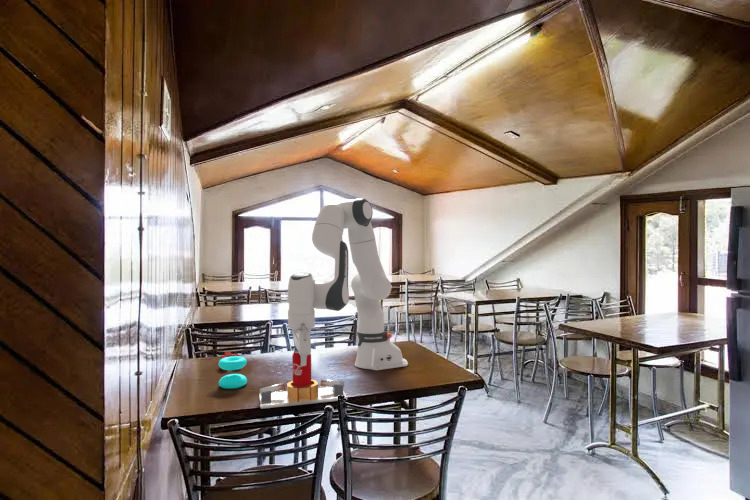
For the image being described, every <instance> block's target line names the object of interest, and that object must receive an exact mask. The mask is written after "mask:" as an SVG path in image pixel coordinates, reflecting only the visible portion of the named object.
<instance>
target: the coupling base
mask: <svg viewBox="0 0 750 500" xmlns="http://www.w3.org/2000/svg"><path fill="white" fill-rule="evenodd" d="M344 388H345V380H337V379H336V380H334V379H324V378H321V379H320V380H319V382H318V381H317V380H315V379H311V385H309V386H308V387H295V386H294V385H293V380H291V381H288V382H287V383H286V388H285V383H284V382H280V383H277V384H273V385H270V386H266V387H265V386H264V387H262V388H259V395H258V396H259V406H260V407H259V408H260V409H261V410H263V409H271V408H281V407H292V406H302V405H303V406H304V405H311V404H319V403H329V402H339V401H338V395H344V396H345V399H346V400H345V401H348V395H347V394H346V393H345V391H344Z"/></svg>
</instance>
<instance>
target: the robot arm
mask: <svg viewBox="0 0 750 500" xmlns="http://www.w3.org/2000/svg"><path fill="white" fill-rule="evenodd" d="M372 207H373V206H372V204H371V202H369V201H368V200H367V199H366V198H358V197H357V198H355V199H354V198H352V199H345V200H342V201H338V202H334V203H327V204H324V205H323V206H322V207H321V209H320V210H319V212H318V215H317V217H316V219H315V223H314V227H313V230H312V234H311V242H312V245H314V247H315V248H316V250H318V251H319V252H321V253H322V254H324V255H325V256H328V257H331V258H332V259H334V278H333V279H332V280H330V281H325V280H324V281H322V280H320V281H319V280H315V279H314V277H313V275H312V274H311V273H309V272H298V273H294V274H292V275H290V276H289V281H288V285H287V286H288V287H287V303H288V311H287V316H288V317H287V324H288V325H287V327H288V329H291V332H292V339H293V343H294V346H295V347H296V349H297V350H298V352H299V354H300V358H301V360H300V362H301V363H300V364H301V366H306V360H307V355H310V354H311V353H312V343H311V332H312V328H314V327H315V326H316V324H315V323H316V317H315V316H316V315H315V310H317V309H318V310H329V311H336V312H339V311H341V310H343V309H344V308H345V307H346V306H347V305H348V303H349V301H350V300H349V299H350V298H349V297H350V293H349V290H350V289H349V249H350V253H351V259H352V263H353V265H354V266H355V268H356V270H357V273H358V274H356V275H354V276H353V278H352V280H351V282H350V286H351V289H352V292H353V295H354V296H353V297H354V302H355V306H356V312H357V332H356V344H357V350H356V359H355V363H354V366H355V367H357V368H360V369H364V370H373V371H381V370H388V369H389V370H390V369H394V368H402V367H407V366H408V365H409V363H408V361H407V359H405V358H403V354H402V353H403V352H402V350H401V349H400V347H399V346H397V345H396V344H394V342H392V341H391V340H389V339H392V338H393V334H392V333H390V332H387V331H385V314H384V310H383V309H382V305H381V302H380V301H382V300H385V299H387V298H388V297H389V296H390V294H391V291H392V284H391V281H390V280H389V278H388V276H387V275H386V272H385V270H384V267H383V265H382V263H381V259H380V257H379V252H378V247H377V241H376V237H375V231H374V229H373V225H372V222H371V221H372V217H373V214H374V213H373V208H372ZM345 229H347V235H348V237H347V238H348V243H349V249H348V245H347V243H346V242H344V241H343V234H344V230H345ZM311 355H312V354H311Z"/></svg>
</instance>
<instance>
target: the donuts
mask: <svg viewBox="0 0 750 500" xmlns="http://www.w3.org/2000/svg"><path fill="white" fill-rule="evenodd" d="M247 362H248V361H247V359H246V357H243V356H240V355H239V356H231V357H225V358H223V359H221V358H220V359H219V361H218V364H217V365H218V367H219V368H220V369H221V370H222V369H224V370H225V371H236V370H237V371H238V370H240V369H241V370H242V369H243V368H244V367H245V366H246V365H247ZM247 382H248V379H247V376H245V375H243V374H242V373H230V374H226V375H224V376H222V377H221V378H220V379H219V381H218V385H219V387H220V388H222V389H229V390H232V389H239V388H242V387H244V386H246V384H247Z"/></svg>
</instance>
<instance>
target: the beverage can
mask: <svg viewBox="0 0 750 500" xmlns="http://www.w3.org/2000/svg"><path fill="white" fill-rule="evenodd" d="M291 360H292V381H293V385H294V386H295V387H308V386H309V385H311V380H312V354H310V355H307V360H306V366H301V364H300V363H301V362H300V360H301V358H300V354H299V352H298V350H297V348H296V349H294V350H293V353H292V359H291Z"/></svg>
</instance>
